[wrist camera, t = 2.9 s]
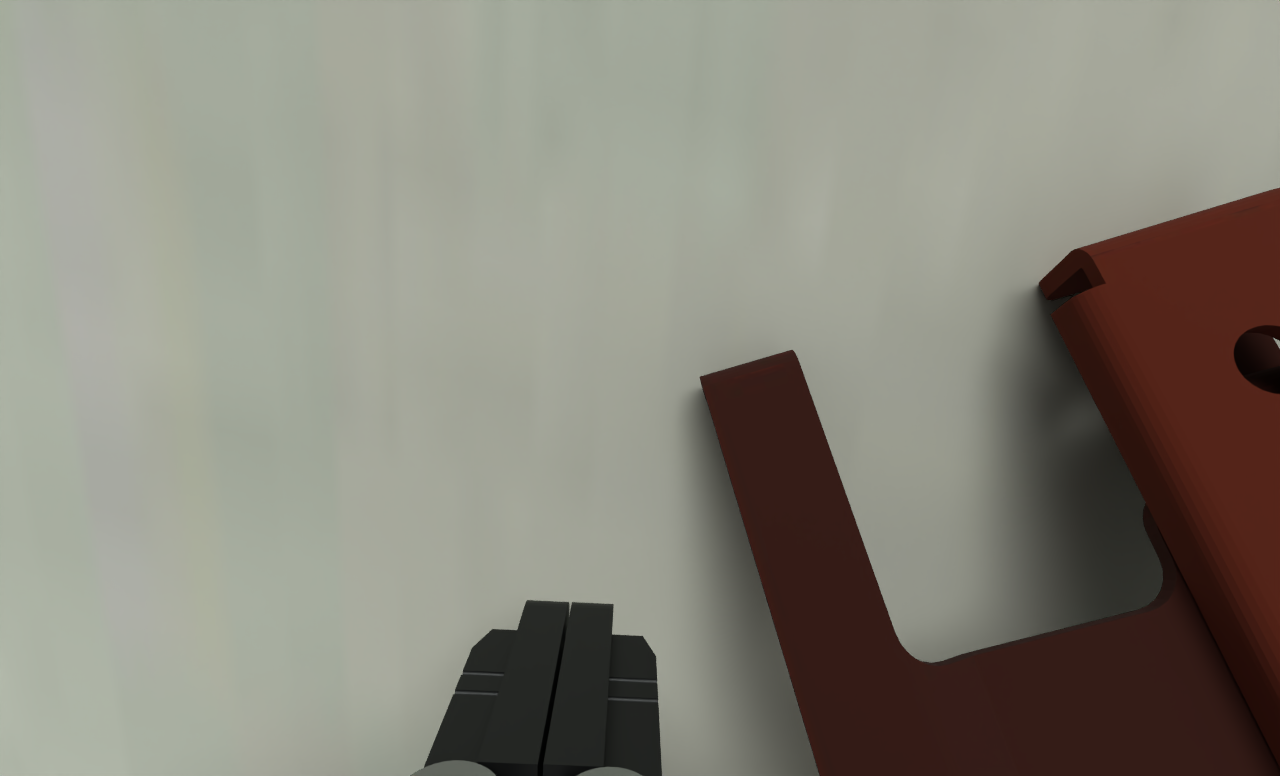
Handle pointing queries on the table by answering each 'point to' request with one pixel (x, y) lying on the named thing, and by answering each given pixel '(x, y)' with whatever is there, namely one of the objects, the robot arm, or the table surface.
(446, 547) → the table surface
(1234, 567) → the bracket
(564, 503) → the table surface
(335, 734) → the table surface
